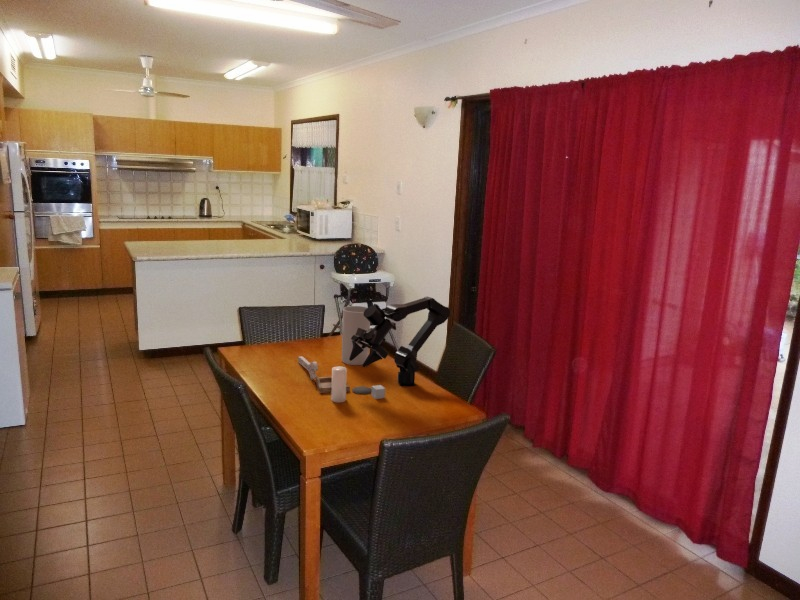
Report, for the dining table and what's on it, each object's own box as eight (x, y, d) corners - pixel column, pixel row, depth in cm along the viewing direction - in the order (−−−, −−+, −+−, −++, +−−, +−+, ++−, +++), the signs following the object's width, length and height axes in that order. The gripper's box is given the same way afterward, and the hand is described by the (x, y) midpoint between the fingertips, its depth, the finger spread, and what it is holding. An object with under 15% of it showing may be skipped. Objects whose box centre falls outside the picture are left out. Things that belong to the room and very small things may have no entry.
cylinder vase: (373, 363, 267) (375, 310, 262) (349, 367, 260) (351, 313, 255) (359, 355, 277) (361, 305, 272) (336, 359, 270) (338, 307, 265)
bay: (344, 381, 243) (344, 376, 242) (349, 391, 231) (349, 386, 231) (315, 382, 239) (316, 377, 239) (319, 392, 228) (319, 387, 228)
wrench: (302, 367, 264) (318, 382, 237) (298, 368, 264) (314, 382, 236) (301, 350, 264) (318, 363, 236) (297, 350, 263) (313, 363, 235)
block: (380, 394, 230) (381, 384, 229) (384, 398, 227) (385, 388, 226) (371, 395, 228) (371, 386, 228) (375, 399, 225) (375, 389, 224)
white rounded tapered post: (345, 396, 226) (346, 366, 223) (345, 402, 220) (346, 371, 217) (331, 396, 225) (332, 366, 222) (331, 402, 219) (331, 371, 217)
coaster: (371, 387, 237) (371, 386, 237) (372, 394, 229) (372, 393, 229) (352, 387, 236) (352, 386, 236) (352, 394, 228) (352, 393, 228)
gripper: (354, 314, 232) (331, 345, 228) (382, 325, 217) (357, 358, 213) (370, 330, 238) (348, 361, 234) (398, 342, 224) (374, 374, 220)
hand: (356, 363), depth 225 cm, fingers open, 9 cm apart
